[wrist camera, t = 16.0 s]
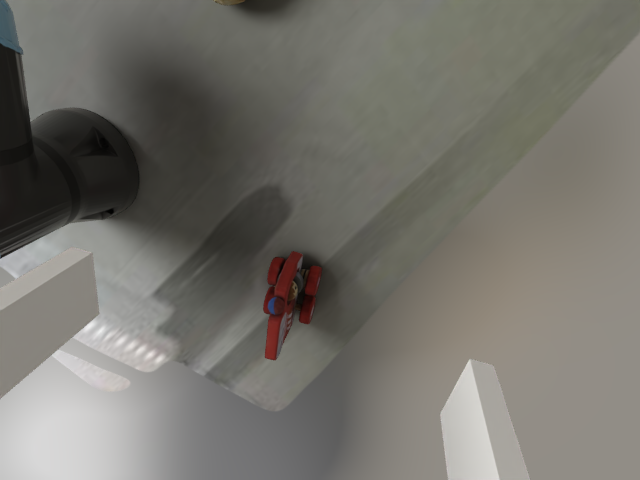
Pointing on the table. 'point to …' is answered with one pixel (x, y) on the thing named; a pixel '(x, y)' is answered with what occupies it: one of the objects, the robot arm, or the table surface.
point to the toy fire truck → (288, 298)
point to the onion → (228, 2)
